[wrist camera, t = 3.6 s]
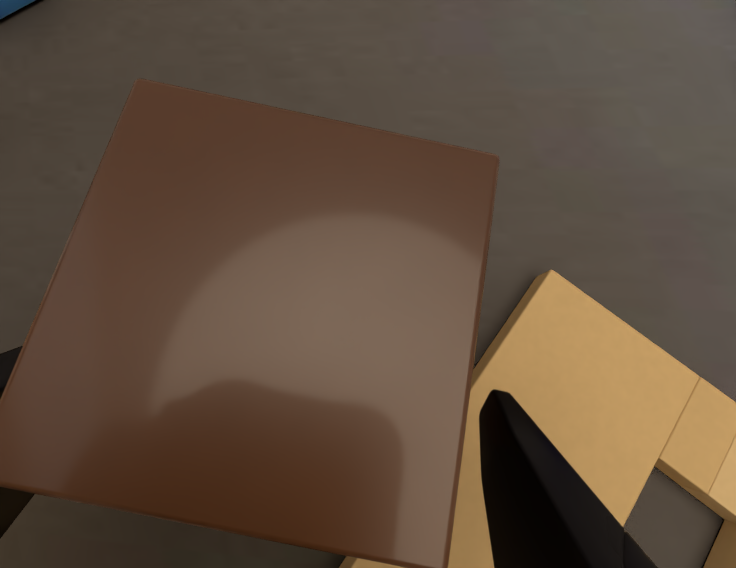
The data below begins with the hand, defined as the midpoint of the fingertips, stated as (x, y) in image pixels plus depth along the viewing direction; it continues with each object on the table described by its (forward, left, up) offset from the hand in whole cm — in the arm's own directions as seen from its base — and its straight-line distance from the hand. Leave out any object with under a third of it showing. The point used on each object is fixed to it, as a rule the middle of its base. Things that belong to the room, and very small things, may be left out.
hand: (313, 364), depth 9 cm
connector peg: (+1, 0, -9) cm, 9 cm away
